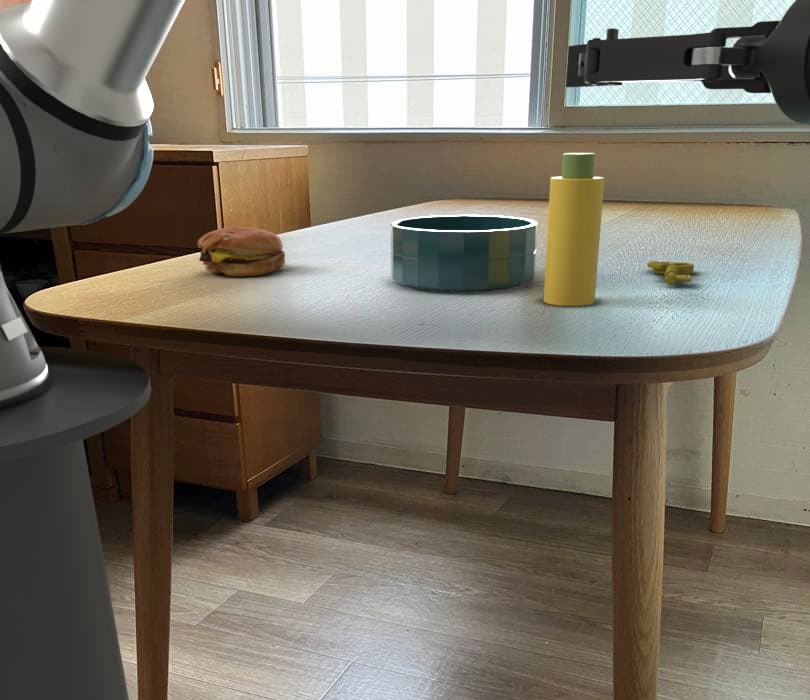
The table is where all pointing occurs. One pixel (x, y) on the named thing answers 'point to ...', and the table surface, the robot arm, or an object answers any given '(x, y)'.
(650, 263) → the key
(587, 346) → the table surface
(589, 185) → the yellow bottle green cap
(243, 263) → the burger
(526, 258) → the teal pet bowl
